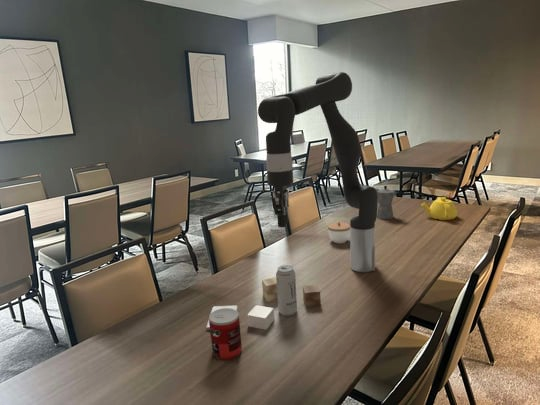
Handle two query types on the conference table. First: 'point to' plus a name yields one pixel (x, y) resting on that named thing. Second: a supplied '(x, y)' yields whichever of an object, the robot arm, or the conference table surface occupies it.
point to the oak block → (269, 289)
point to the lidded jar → (339, 232)
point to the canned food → (225, 333)
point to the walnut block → (311, 295)
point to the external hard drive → (220, 308)
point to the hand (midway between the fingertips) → (282, 224)
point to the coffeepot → (385, 203)
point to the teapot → (441, 209)
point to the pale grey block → (260, 317)
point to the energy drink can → (286, 290)
